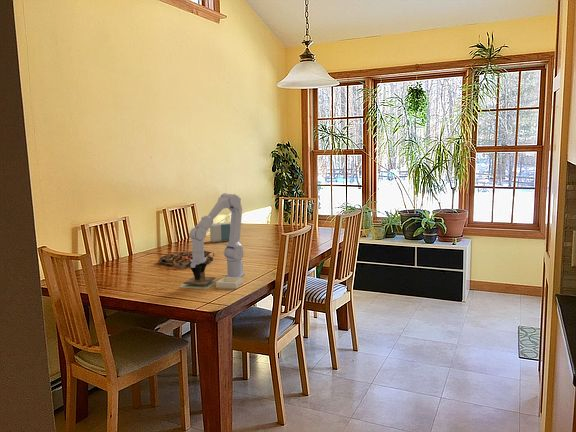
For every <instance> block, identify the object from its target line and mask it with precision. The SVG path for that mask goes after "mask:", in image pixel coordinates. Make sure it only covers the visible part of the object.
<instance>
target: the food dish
mask: <svg viewBox="0 0 576 432" xmlns="http://www.w3.org/2000/svg"><path fill="white" fill-rule="evenodd" d="M211 254H212V256H211ZM204 257H206V261H205V262H204V263H207V265H209V264H211V263H212V262H213V261H214V257H215V253H214V252H211V251H208V250H207V251H206V250H205V249H204ZM191 260H193V255H192V250H190V251H189V250H187V251H178V252H171V253H168V254H166V255H165V254H164V255H163V256H161V257H159V258H158V262H159V263H161V264H162V265H164V266H165V267H169V268H170V267H171V268H177V269H189V268H190V266H191V263H192V262H191ZM190 269H191V268H190Z"/></svg>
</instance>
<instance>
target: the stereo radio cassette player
mask: <svg viewBox="0 0 576 432" xmlns="http://www.w3.org/2000/svg"><path fill="white" fill-rule="evenodd" d="M230 217H231V214H230V215H229V216H227V217H225V218H224V219H222V220H220V221H218V222H216V223H213V224H212V225H211V227H210V228H209V236H210V241H211V242H212V243H219V242H229V237H230V224H231V221H230V222H223V221H224V220H226V219H228V218H230Z"/></svg>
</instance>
